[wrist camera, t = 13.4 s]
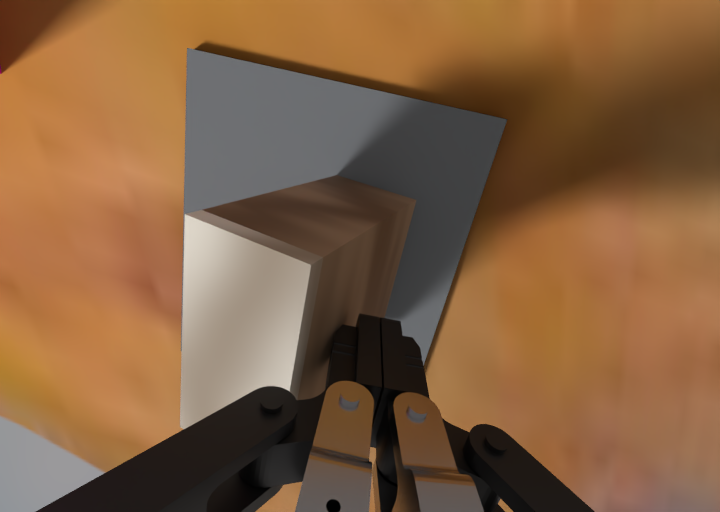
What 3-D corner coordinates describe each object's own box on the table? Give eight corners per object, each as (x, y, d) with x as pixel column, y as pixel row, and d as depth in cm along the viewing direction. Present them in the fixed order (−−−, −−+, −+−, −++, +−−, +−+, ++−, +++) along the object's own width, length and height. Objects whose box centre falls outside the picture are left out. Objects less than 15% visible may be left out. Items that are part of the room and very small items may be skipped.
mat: (503, 118, 18) (507, 119, 17) (412, 386, 24) (413, 393, 24) (193, 48, 17) (187, 47, 16) (185, 345, 23) (180, 351, 23)
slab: (416, 200, 17) (311, 265, 9) (376, 346, 20) (273, 484, 13) (336, 175, 18) (184, 214, 11) (311, 316, 22) (179, 426, 14)
